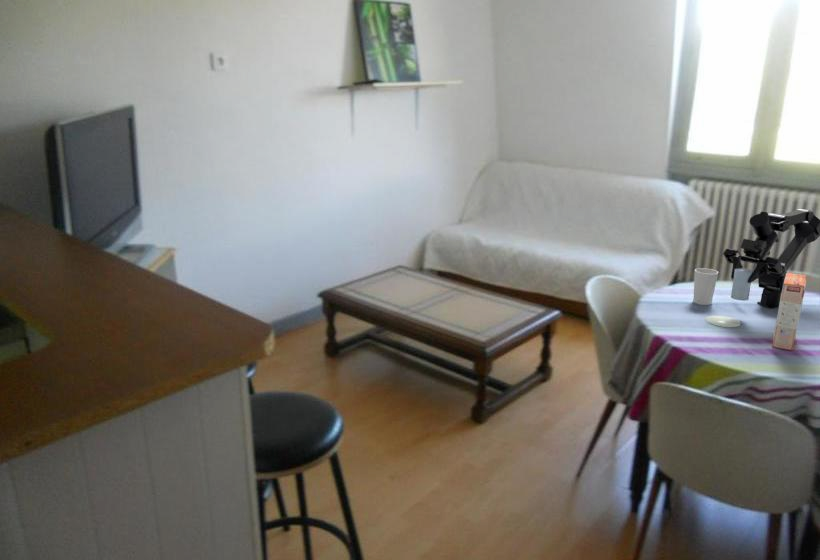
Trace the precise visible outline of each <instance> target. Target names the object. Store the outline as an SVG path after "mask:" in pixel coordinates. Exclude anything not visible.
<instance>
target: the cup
mask: <svg viewBox="0 0 820 560" xmlns="http://www.w3.org/2000/svg"><path fill="white" fill-rule="evenodd" d="M718 276H719V271H718V270H716V269H712V268H704V267H701V268H695V269H694V280H693V281H694V282H693V300H692V302H693V303H695V304H696V305H701V306H702V305H703V306H708V305H712V304H713V303H712V302H713V297H714V293H715V289H716V285H717V280H718Z"/></svg>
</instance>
